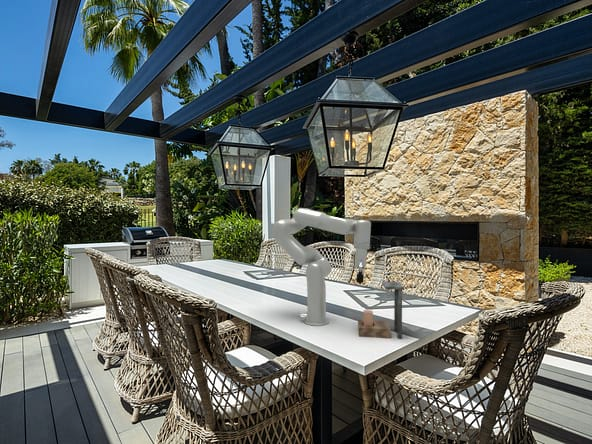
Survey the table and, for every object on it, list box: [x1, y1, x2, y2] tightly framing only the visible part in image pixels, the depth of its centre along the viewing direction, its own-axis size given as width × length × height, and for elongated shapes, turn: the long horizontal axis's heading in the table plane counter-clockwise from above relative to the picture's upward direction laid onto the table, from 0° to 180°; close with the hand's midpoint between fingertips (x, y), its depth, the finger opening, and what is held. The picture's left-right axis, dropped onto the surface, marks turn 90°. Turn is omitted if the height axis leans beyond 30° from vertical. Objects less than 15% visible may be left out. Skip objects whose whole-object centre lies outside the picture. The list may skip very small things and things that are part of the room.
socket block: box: [357, 281, 405, 340], centre depth 154 cm, size 20×12×23 cm, turn 81°
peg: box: [363, 309, 374, 326], centre depth 155 cm, size 4×4×10 cm
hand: (359, 280), depth 161 cm, fingers open, 9 cm apart
